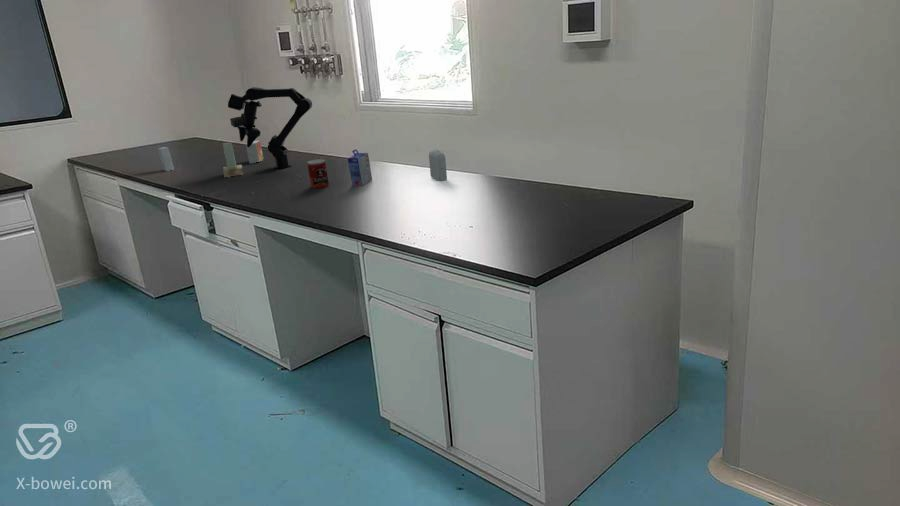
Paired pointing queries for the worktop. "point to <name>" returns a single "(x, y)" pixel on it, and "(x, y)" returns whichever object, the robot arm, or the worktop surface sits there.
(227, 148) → the sage post
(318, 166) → the canned food
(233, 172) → the oak block
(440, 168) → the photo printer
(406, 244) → the worktop surface
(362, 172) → the ink cartridge box
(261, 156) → the small box
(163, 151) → the skincare box
